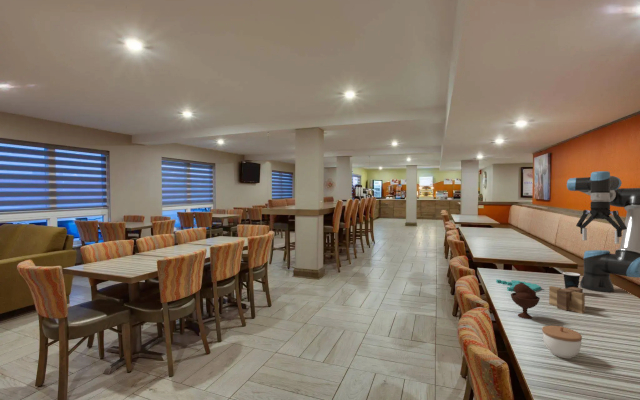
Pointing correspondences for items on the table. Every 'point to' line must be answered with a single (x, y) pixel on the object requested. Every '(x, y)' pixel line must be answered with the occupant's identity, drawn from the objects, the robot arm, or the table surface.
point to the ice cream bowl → (524, 299)
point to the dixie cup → (571, 279)
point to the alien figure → (515, 282)
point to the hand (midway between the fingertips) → (600, 241)
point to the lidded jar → (562, 341)
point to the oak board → (575, 303)
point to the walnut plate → (566, 297)
